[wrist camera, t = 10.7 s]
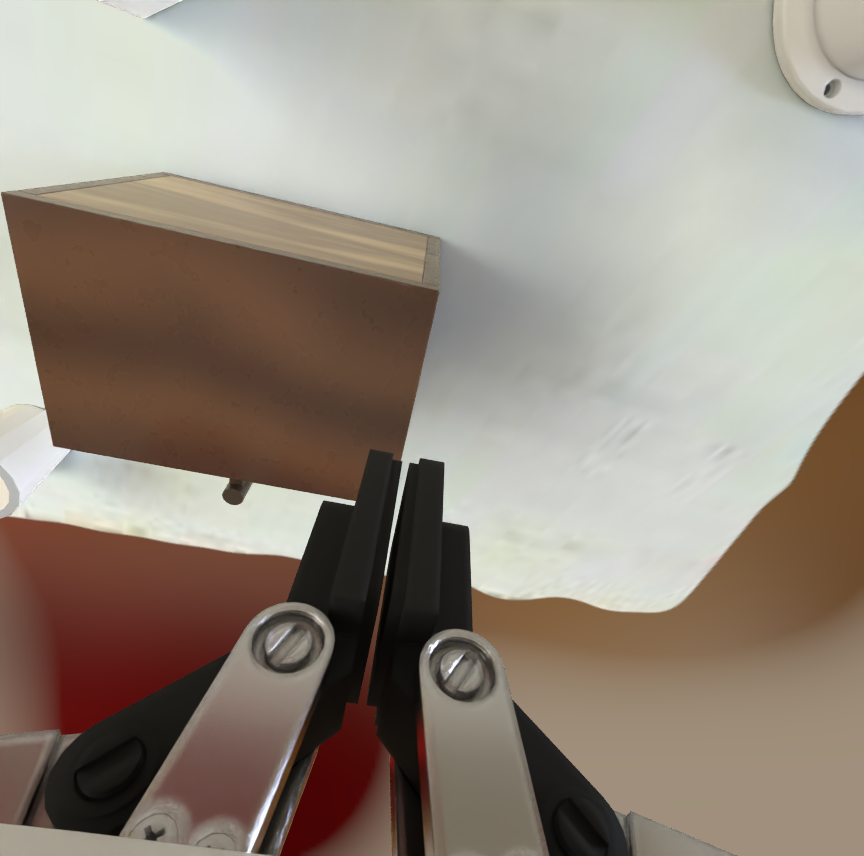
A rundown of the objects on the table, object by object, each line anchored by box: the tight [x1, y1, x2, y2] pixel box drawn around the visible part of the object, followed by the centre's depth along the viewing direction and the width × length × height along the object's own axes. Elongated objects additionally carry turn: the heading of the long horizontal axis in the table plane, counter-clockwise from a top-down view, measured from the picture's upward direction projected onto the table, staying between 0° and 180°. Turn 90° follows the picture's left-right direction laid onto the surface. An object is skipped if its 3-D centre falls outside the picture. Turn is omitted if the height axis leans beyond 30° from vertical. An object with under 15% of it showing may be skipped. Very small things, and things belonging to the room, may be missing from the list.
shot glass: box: [0, 404, 71, 518], centre depth 38 cm, size 7×7×7 cm
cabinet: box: [1, 172, 440, 501], centre depth 29 cm, size 12×18×13 cm
